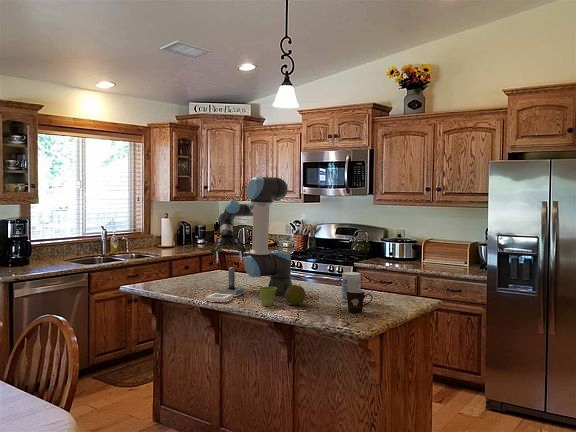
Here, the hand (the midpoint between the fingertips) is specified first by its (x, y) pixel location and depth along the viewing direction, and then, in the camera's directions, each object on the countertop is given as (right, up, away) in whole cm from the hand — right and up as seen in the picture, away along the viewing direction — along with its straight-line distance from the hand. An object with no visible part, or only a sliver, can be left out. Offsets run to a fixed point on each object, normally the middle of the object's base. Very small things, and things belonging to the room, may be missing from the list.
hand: (229, 261), depth 297 cm
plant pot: (+23, -19, -36) cm, 47 cm away
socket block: (+2, -17, -10) cm, 20 cm away
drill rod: (+2, -17, -10) cm, 20 cm away
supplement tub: (+66, -18, -27) cm, 74 cm away
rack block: (-3, -18, -25) cm, 31 cm away
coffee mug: (+66, -19, -52) cm, 87 cm away
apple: (+37, -19, -35) cm, 55 cm away
